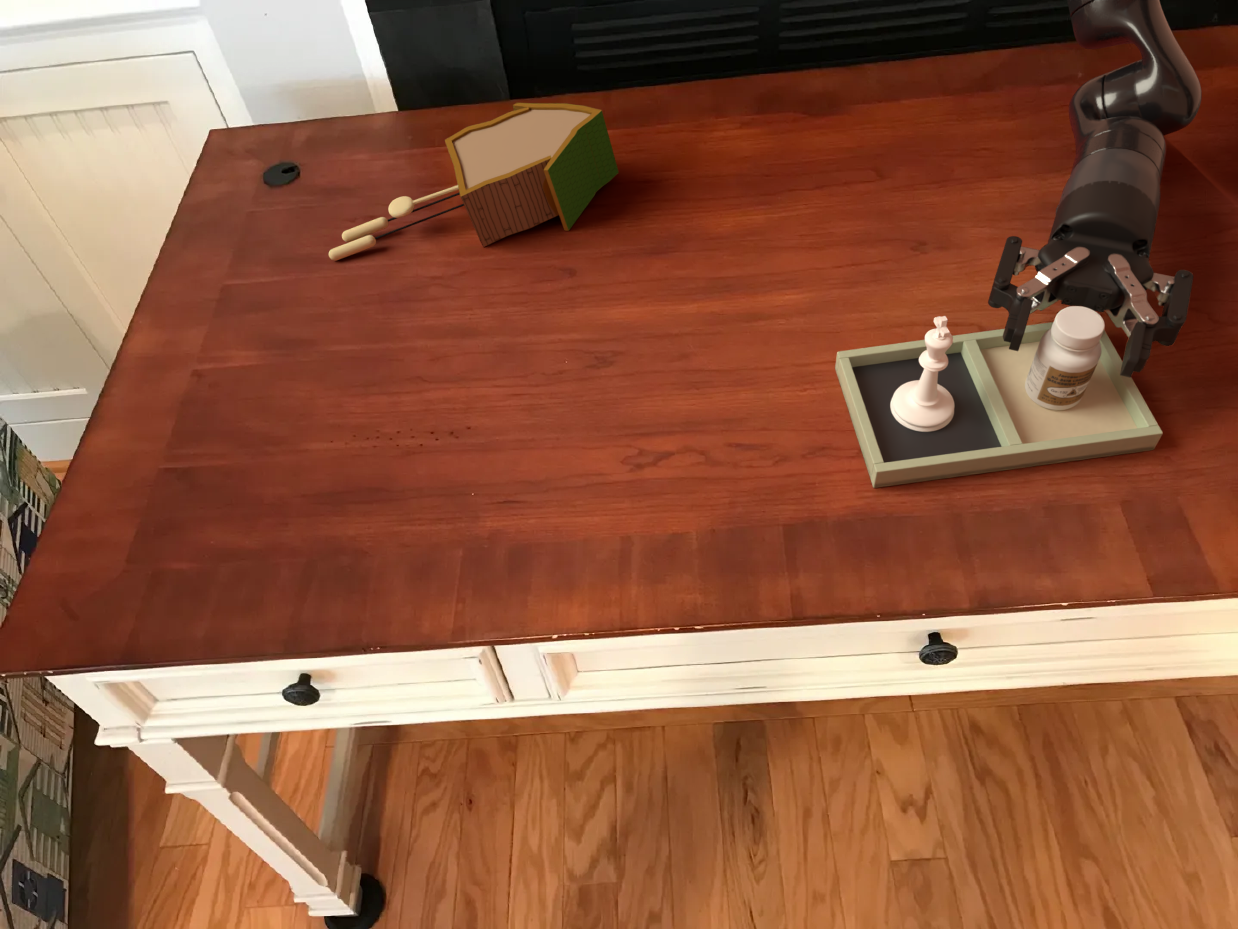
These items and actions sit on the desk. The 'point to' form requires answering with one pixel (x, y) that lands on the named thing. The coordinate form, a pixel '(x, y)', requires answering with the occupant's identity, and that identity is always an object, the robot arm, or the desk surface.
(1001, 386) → the sorting tray
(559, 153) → the cuckoo clock
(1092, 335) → the pill bottle
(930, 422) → the chess piece
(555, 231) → the desk surface
